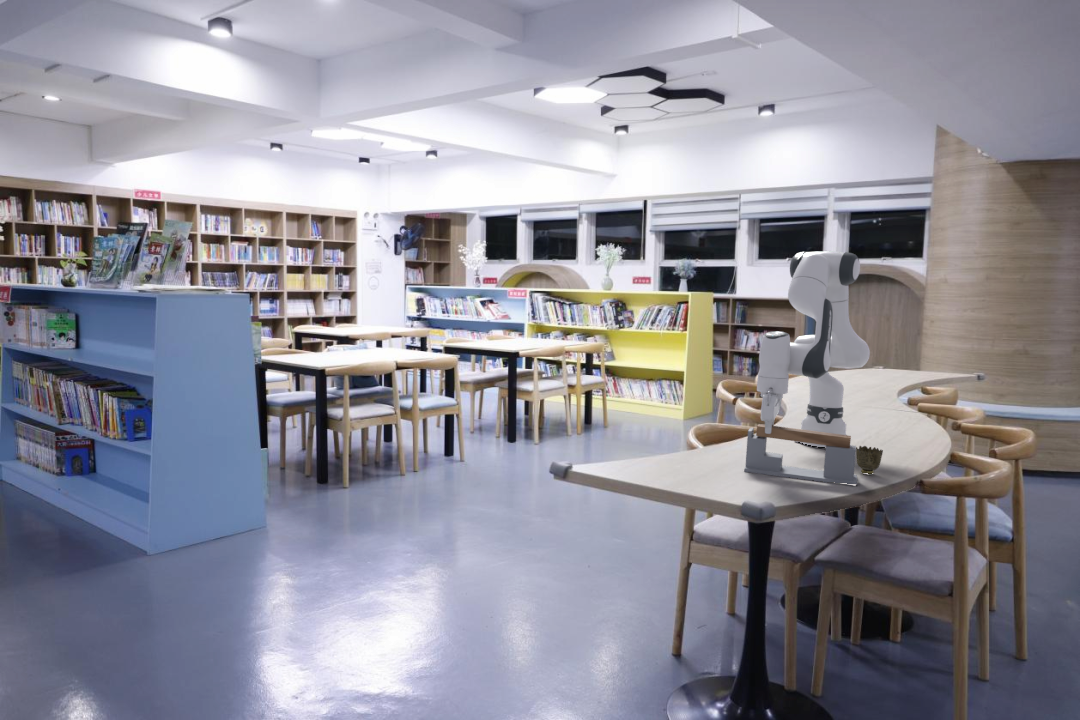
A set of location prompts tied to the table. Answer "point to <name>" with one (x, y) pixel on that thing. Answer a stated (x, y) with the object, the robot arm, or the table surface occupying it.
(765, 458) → the notched stand
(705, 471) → the table surface
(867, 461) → the cup
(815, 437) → the walnut bar
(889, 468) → the table surface
